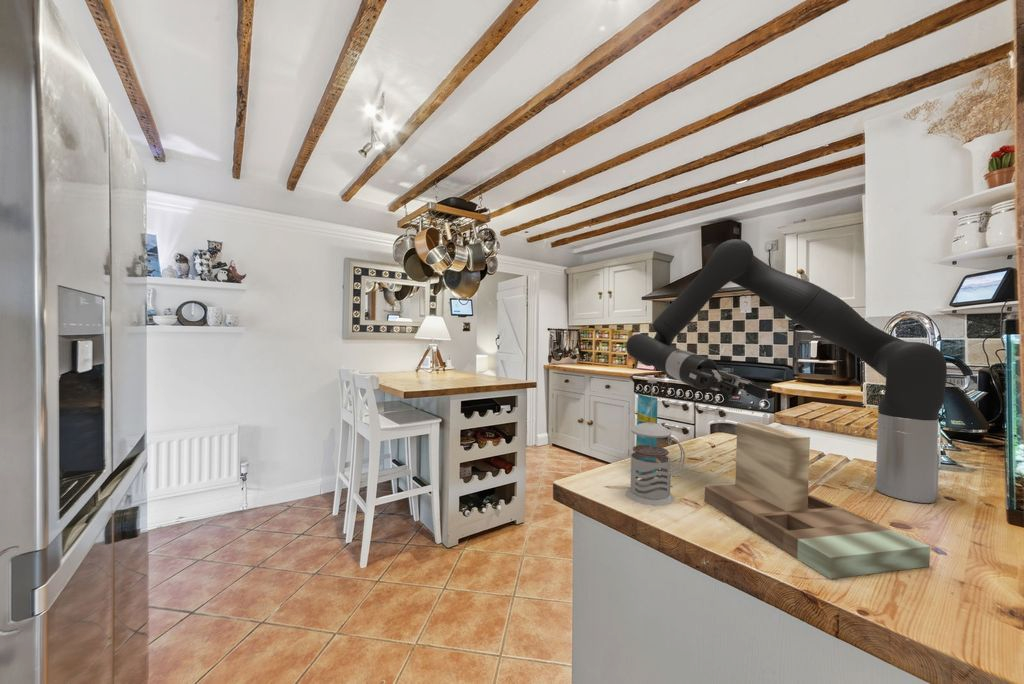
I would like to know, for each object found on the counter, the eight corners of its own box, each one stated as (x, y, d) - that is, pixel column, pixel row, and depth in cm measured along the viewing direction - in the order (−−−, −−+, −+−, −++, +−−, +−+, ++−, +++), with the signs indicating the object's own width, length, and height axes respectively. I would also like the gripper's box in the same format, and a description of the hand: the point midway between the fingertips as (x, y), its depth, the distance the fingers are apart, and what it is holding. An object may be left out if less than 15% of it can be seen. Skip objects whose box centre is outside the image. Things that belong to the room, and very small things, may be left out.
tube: (627, 470, 98) (629, 393, 97) (643, 468, 100) (644, 392, 99) (648, 480, 91) (650, 398, 91) (665, 478, 93) (667, 397, 93)
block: (754, 484, 82) (755, 422, 82) (807, 509, 70) (809, 437, 70) (735, 485, 81) (737, 422, 81) (786, 511, 69) (788, 438, 69)
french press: (621, 485, 88) (624, 374, 88) (675, 488, 87) (678, 375, 86) (630, 504, 78) (633, 379, 78) (690, 507, 77) (694, 380, 77)
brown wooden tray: (779, 495, 84) (779, 481, 84) (929, 566, 58) (930, 546, 58) (704, 500, 80) (704, 486, 80) (829, 578, 55) (830, 557, 55)
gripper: (672, 350, 91) (734, 373, 77) (715, 356, 97) (779, 378, 83) (664, 381, 93) (722, 409, 78) (706, 384, 99) (767, 411, 84)
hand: (751, 393), depth 81 cm, fingers open, 8 cm apart
